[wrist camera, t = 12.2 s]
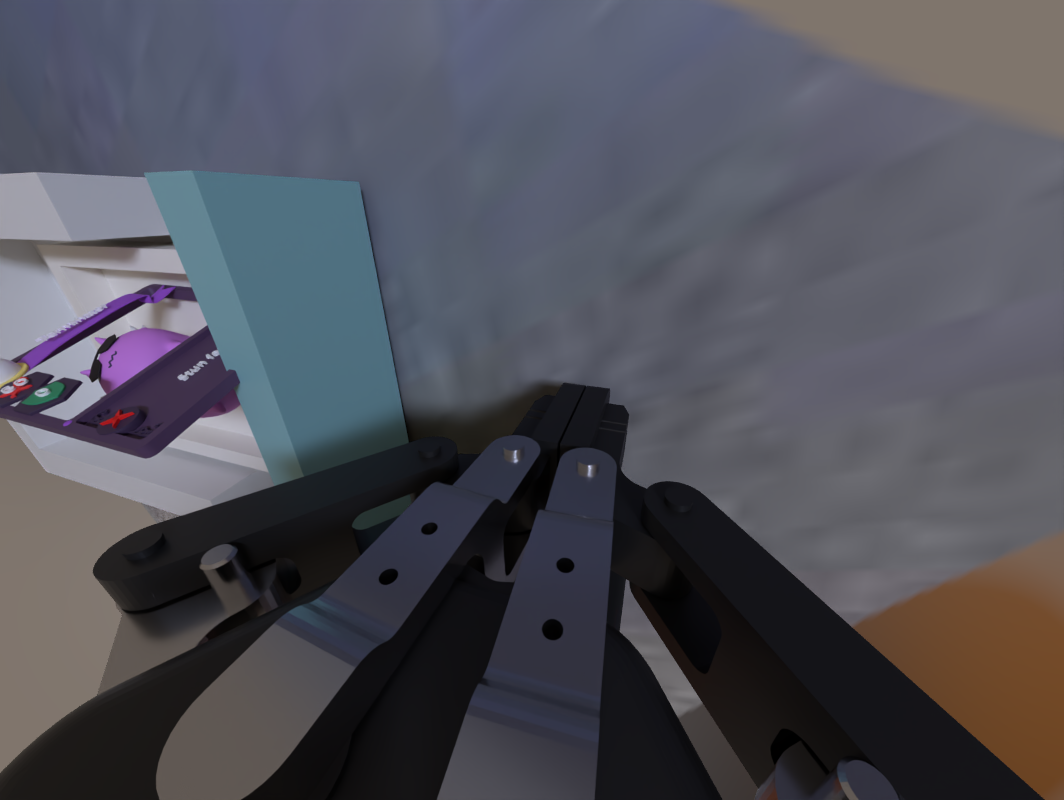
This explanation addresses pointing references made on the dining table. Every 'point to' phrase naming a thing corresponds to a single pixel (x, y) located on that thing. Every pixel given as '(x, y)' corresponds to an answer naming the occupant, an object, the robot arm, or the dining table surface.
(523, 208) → the dining table surface
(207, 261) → the drawer
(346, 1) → the dining table surface
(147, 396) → the purple toy kit
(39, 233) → the open box
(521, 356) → the dining table surface
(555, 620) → the robot arm
